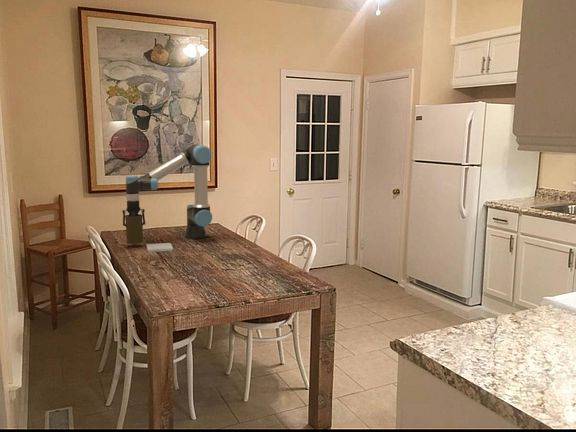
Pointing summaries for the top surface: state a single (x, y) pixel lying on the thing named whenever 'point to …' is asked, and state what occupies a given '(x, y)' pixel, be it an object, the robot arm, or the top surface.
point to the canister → (134, 229)
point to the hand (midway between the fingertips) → (134, 235)
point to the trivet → (159, 247)
